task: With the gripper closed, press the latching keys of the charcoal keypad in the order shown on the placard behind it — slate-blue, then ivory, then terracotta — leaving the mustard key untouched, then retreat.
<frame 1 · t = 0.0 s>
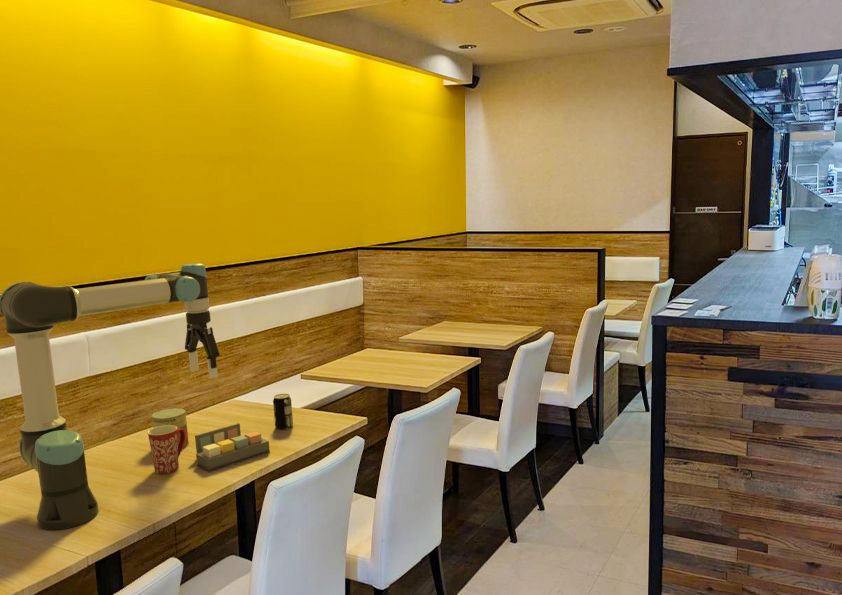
hand: (203, 374, 235), 28 cm above the table, fingers open, 13 cm apart
beverage can: (284, 427, 265), on the table
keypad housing: (234, 459, 235), on the table
canned food: (172, 446, 250), on the table
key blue: (239, 443, 236), point 5 cm above the table, slide at 0.0 cm
key ivory: (211, 451, 229), point 5 cm above the table, slide at 0.0 cm
key mustard: (225, 447, 232), point 5 cm above the table, slide at 0.0 cm
mug: (171, 468, 230), on the table
key terracotta: (253, 439, 239), point 5 cm above the table, slide at 0.0 cm
prompt placard: (219, 451, 242), on the table
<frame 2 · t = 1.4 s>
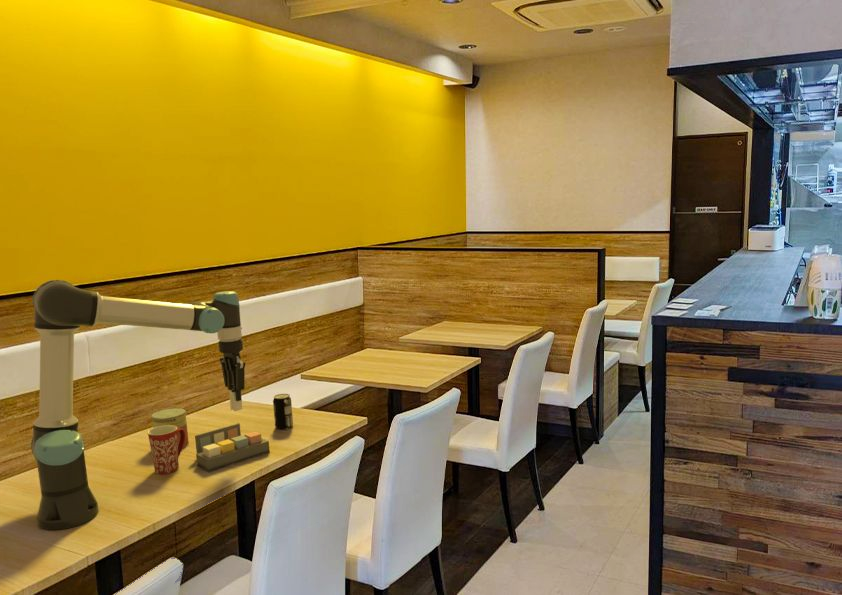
hand: (236, 409, 234), 16 cm above the table, fingers closed
nothing on the table moved.
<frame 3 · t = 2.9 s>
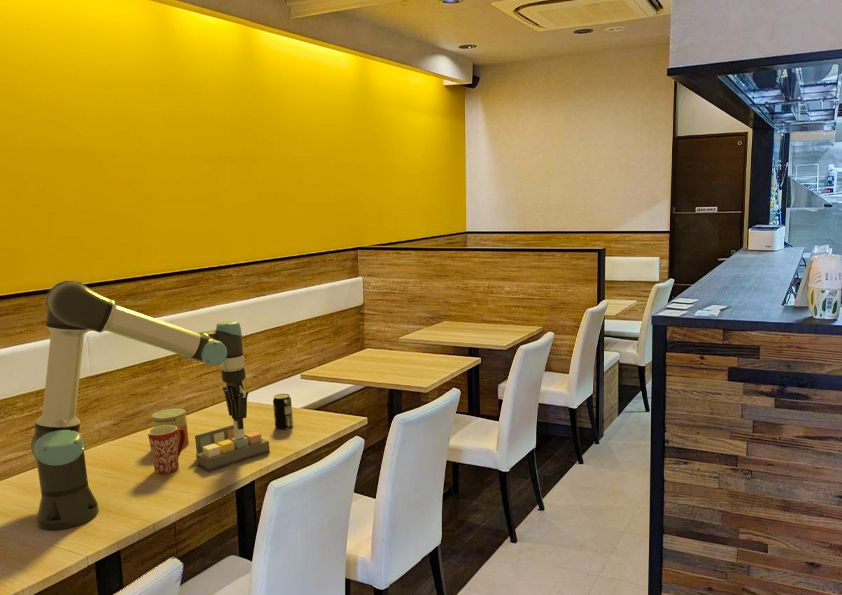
hand: (239, 437, 236), 7 cm above the table, fingers closed
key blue: (239, 443, 236), point 5 cm above the table, slide at 0.1 cm, touching gripper
everything else where it was.
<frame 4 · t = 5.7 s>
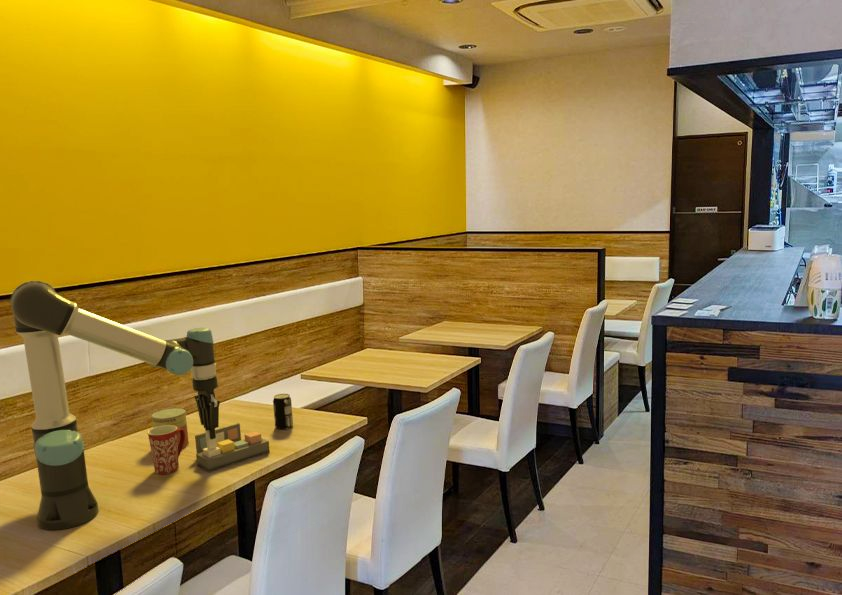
hand: (212, 447, 229), 6 cm above the table, fingers closed
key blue: (240, 447, 236), point 3 cm above the table, slide at 1.6 cm
key ivory: (211, 453, 229), point 4 cm above the table, slide at 0.7 cm, touching gripper
everything else where it was.
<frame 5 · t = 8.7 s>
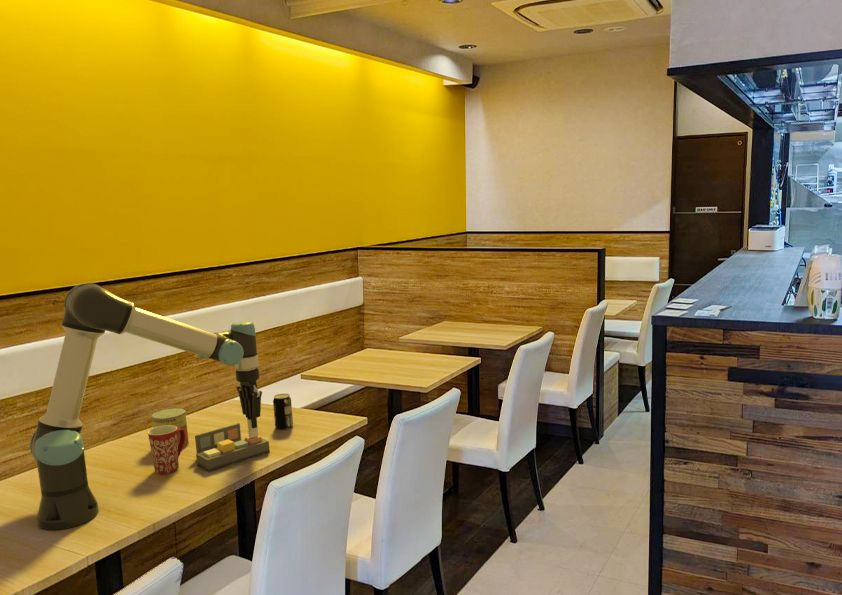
hand: (253, 436, 239), 6 cm above the table, fingers closed
key ivory: (212, 456, 229), point 3 cm above the table, slide at 1.6 cm
key terracotta: (253, 442, 239), point 4 cm above the table, slide at 1.1 cm, touching gripper
everything else where it was.
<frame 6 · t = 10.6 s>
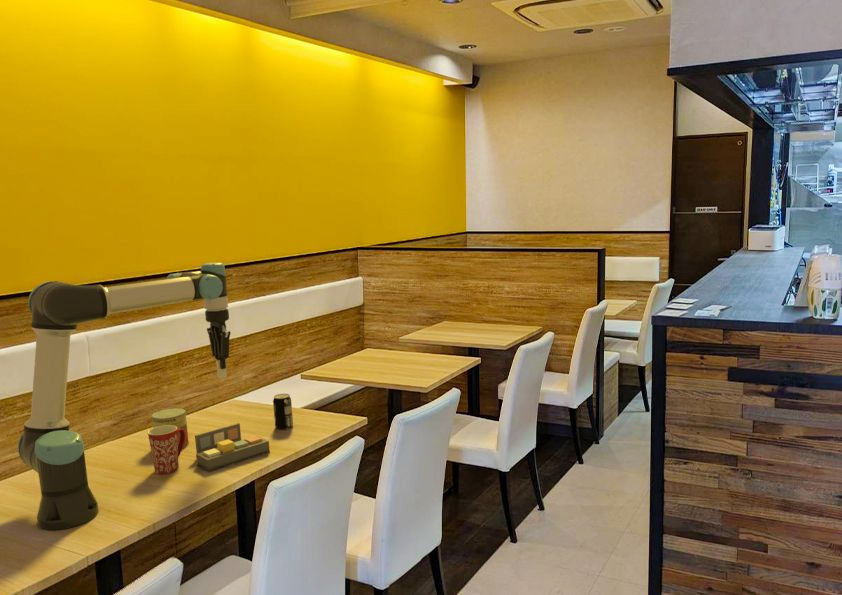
hand: (222, 377, 241), 25 cm above the table, fingers closed
key terracotta: (253, 443, 239), point 3 cm above the table, slide at 1.6 cm
everything else where it was.
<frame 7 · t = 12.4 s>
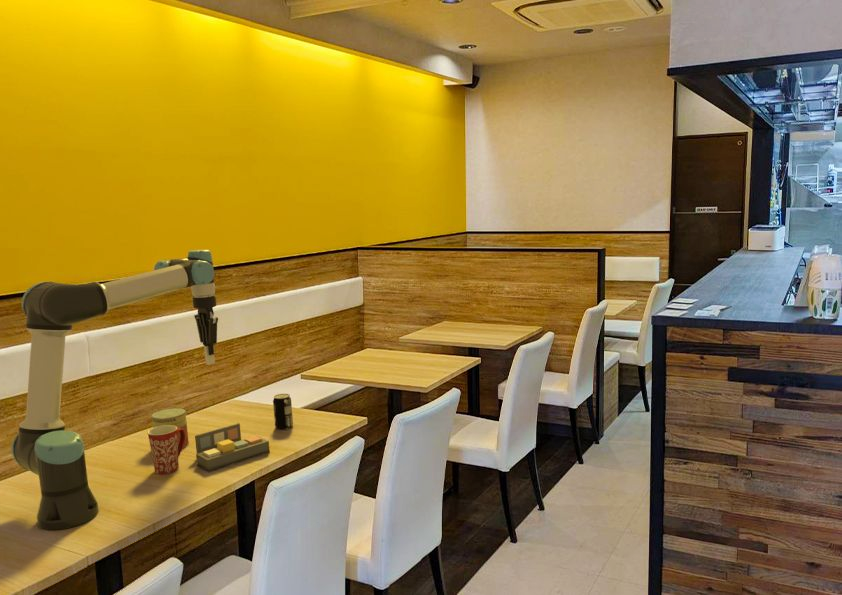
hand: (210, 363, 244), 29 cm above the table, fingers closed
nothing on the table moved.
at the end: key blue slide at 1.6 cm; key terracotta slide at 1.6 cm; key mustard slide at 0.0 cm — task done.
